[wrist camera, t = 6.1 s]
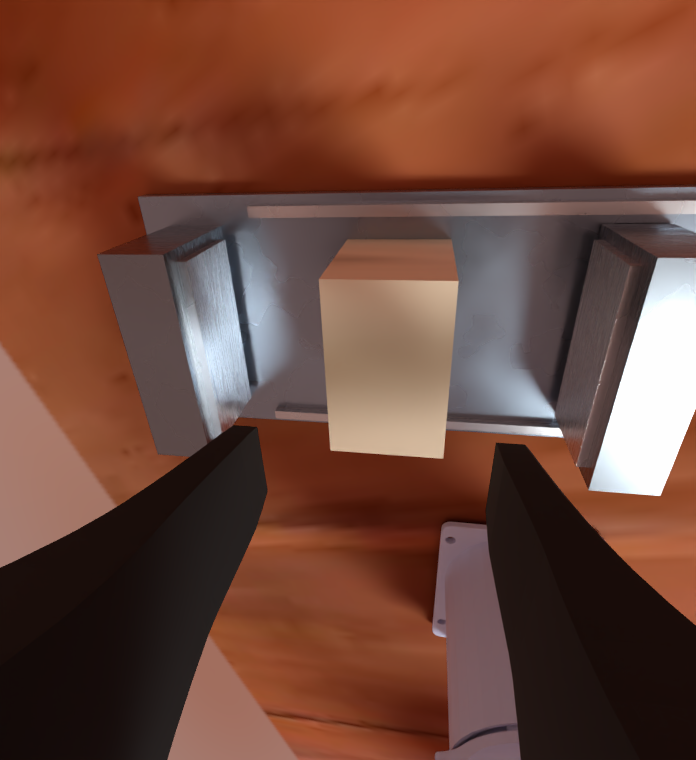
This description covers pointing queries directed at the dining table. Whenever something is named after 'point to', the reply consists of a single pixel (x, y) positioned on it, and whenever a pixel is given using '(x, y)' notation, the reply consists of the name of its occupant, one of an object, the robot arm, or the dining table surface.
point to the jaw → (632, 358)
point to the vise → (303, 309)
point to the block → (389, 345)
